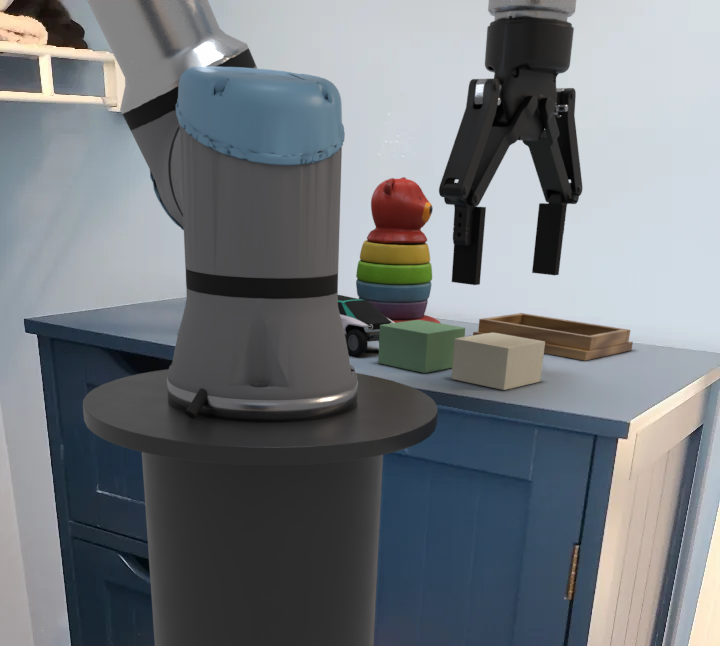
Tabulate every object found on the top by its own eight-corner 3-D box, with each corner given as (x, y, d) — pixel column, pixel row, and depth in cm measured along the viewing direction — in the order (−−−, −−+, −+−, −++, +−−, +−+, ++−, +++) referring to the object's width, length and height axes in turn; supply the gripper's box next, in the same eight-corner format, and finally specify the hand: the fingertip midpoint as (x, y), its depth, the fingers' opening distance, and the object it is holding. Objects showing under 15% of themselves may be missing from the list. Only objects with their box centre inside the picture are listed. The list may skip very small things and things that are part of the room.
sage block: (424, 373, 98) (427, 333, 97) (377, 363, 102) (379, 324, 100) (462, 365, 103) (465, 327, 101) (416, 356, 107) (418, 319, 105)
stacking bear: (414, 343, 114) (424, 179, 106) (339, 334, 117) (343, 175, 109) (446, 332, 122) (458, 179, 114) (375, 324, 126) (382, 175, 118)
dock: (585, 360, 108) (588, 338, 107) (472, 340, 118) (474, 319, 117) (631, 350, 116) (635, 329, 114) (522, 332, 125) (524, 312, 124)
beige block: (503, 390, 92) (508, 348, 91) (451, 379, 96) (454, 338, 94) (540, 381, 97) (545, 341, 95) (488, 371, 101) (492, 332, 99)
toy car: (334, 337, 116) (335, 291, 114) (400, 353, 108) (403, 304, 106) (296, 340, 113) (296, 293, 110) (360, 357, 105) (362, 307, 102)
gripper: (482, -2, 72) (461, 292, 82) (638, 32, 89) (605, 273, 98) (406, 5, 77) (395, 283, 86) (569, 36, 93) (544, 267, 103)
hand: (507, 278), depth 92 cm, fingers open, 13 cm apart
